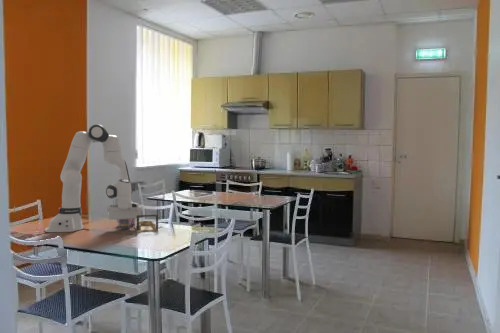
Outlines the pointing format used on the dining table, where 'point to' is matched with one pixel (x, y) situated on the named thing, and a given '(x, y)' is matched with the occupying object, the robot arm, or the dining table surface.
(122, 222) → the gray domed cylinder
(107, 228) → the dining table surface
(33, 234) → the dining table surface
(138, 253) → the dining table surface
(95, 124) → the robot arm
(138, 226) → the wooden tray with handle
